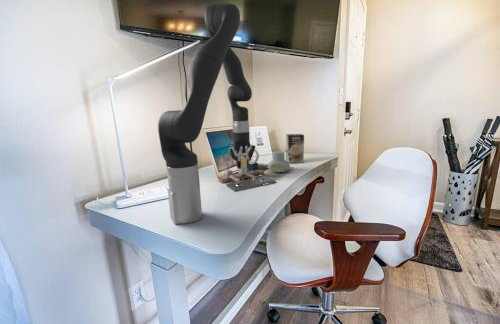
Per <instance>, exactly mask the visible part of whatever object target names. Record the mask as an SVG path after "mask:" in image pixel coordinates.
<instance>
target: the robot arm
mask: <svg viewBox="0 0 500 324" xmlns="http://www.w3.org/2000/svg"><path fill="white" fill-rule="evenodd" d="M240 21H241V12H240V10H239V7H238V6H237V5H236V4H234V3H212V4H211V3H210V4H208V5H207V6H206V7H205V10H204V23H205V27H206V29H207V32H208V34H209V36H210V38H209V39H208V40H207V41H206V42H204V43H203V44H202V45H201V46H199V48H198V49H197V50H196V51H195V52H194V54H193V56H192V59H191V60H190V62H189V64H188V65H189V66H188V68H187V72H186V74H187V75H186V77H187V82H188V86H189V94H188V95H189V96H188V99H187V100H186V101H187V102H186V104H185V106H184V107H183V108H182V110H178V109H177V110H166V111H164V112H162V113H161V115H160V117H159V120H158V123H157V131H158V132H157V133H158V136H159V137H158V138H159V144H160V148H161V149H160V150H161V155H162V157H163V160H164V161H165V166H166V174H167V181H168V182H167V183H168V188H167V196H168V203H169V204H168V205H169V214H170V218H171V220H172V222H173V223H174V225H178V224H182V225H183V224H190V223H191V224H192V223H195V222H196V221H199V220H200V219H201V218H202V217H203V208H202V207H203V206H202V198H201V197H202V196H201V185H200V173H199V161H198V159H199V158H198V155H197V153H195V152H193V151H192V150H191V149H189V147H188V146H187V145H186V143H187V144H188V143H189V144H190V143H193V142H195V141H196V140H197V139H198V137H199V136H200V133H201V130H202V128H203V124H204V121H205V116H206V112H207V108H208V105H209V102H210V99H211V95H212V94H213V90H214V86H215V85H216V82H217V79H218V77H219V74H220V72H221V69H222V67H223V68H224V72H225V75H226V78H227V79H226V80H227V82H228V84H229V85H230V86H229V87H228V88H227V91H226V92H227V93H226V95H227V98H228V100H229V101H228V102H229V104H230V107H231V112H232V141H233V143H232V146H231V147H228V148H227V151H228V152H229V155H230V157H231V158H232V160H234V161H235V162H236V163H235V165H236V166H235V167H236V168H237V170H238V169H241V161H240V158H241V157H242V155H243V157H246V158H247V167H248V165H249V162H248V160H249V159H252V158H253V155H254V153H255V152H254V150H256V145H253V144H251V143H250V140H251V139H250V138H251V137H250V135H251V134H250V123H249V122H250V121H249V110H248V109H249V108H247V107H245V106H240V105H239V104H238V102H239V103H240V102H249V101H250V100H251V98H252V96H253V93H252V88H251V86H250V84H249V83H248V81H247V79H246V77H245V75H244V70H243V66H242V62H241V60H240V58H239V57H238V55H237V54H236V52H234V50H233V49H232V48H231V44H232V42H233V41H234V39H235V37H236V34H238V33H237V32H238V29H239V27H240V23H241V22H240ZM222 65H223V66H222ZM248 149H250V150H249V153H248ZM249 161H250V160H249Z"/></svg>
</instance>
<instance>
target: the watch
mask: <svg viewBox="0 0 500 324" xmlns="http://www.w3.org/2000/svg"><path fill="white" fill-rule="evenodd" d="M249 150H250V148H249V149H248V153H249ZM254 153H255V158H254V161H250V160H248V162H249V165H248V167H247V169H249V170H254V171H256V170H258V169H259V163H258V160H259V158H260V155H259V152H258V150H257V149H255V150H254ZM257 168H258V169H257ZM255 169H256V170H255ZM249 170H248V171H249Z"/></svg>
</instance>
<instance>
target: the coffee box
mask: <svg viewBox="0 0 500 324" xmlns="http://www.w3.org/2000/svg"><path fill="white" fill-rule="evenodd" d="M285 136H286V137H285V138H286V139H285V160H286V161H287V162H288V163H289V165H290V164H304V163H305V162H304V161H305V160H304V158H305V157H304V156H305V151H304V150H305V148H304V147H305V135H304V134H302V133H293V134H290V133H289V134H288V133H287V134H286V135H285Z"/></svg>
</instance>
